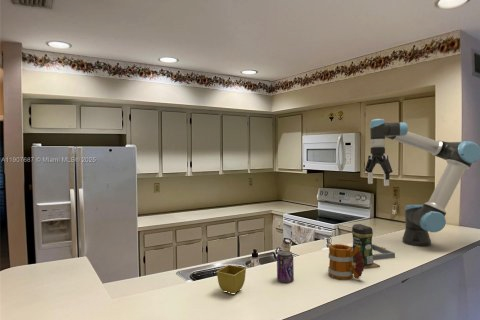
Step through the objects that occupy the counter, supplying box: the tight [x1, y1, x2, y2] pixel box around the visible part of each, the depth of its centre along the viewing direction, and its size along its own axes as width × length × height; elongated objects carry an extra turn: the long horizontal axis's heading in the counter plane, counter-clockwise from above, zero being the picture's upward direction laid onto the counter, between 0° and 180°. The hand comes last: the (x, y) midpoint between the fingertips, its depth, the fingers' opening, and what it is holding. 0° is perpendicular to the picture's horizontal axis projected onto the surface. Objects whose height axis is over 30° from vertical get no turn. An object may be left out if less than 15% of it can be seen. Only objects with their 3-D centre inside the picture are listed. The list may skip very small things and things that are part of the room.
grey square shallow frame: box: [350, 243, 396, 261], centre depth 173 cm, size 17×17×3 cm
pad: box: [352, 260, 381, 270], centre depth 157 cm, size 11×11×1 cm
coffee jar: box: [351, 223, 374, 265], centre depth 157 cm, size 10×8×19 cm
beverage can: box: [276, 250, 295, 283], centre depth 139 cm, size 7×7×12 cm
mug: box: [327, 243, 365, 280], centre depth 142 cm, size 11×16×15 cm, turn 44°
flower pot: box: [216, 264, 247, 294], centre depth 128 cm, size 9×9×9 cm
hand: (378, 184), depth 180 cm, fingers open, 13 cm apart
